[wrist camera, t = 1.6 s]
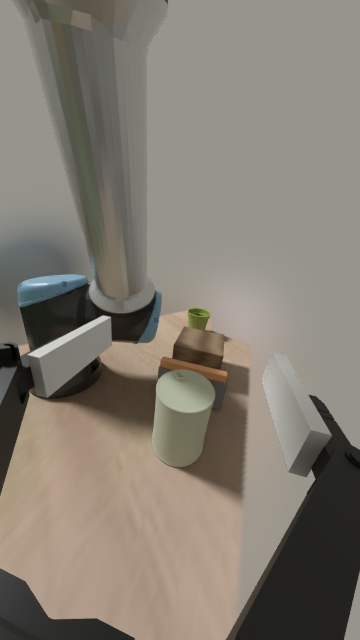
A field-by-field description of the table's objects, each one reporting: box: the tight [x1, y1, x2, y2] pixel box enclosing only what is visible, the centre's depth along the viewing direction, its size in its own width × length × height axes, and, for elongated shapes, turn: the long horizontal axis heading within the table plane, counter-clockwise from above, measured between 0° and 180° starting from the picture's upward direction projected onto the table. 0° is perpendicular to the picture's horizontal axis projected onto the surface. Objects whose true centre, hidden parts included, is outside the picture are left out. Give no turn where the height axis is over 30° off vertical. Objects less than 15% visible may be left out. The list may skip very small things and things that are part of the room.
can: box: [151, 370, 215, 467], centre depth 30 cm, size 9×9×12 cm
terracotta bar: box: [160, 357, 227, 383], centre depth 39 cm, size 14×2×2 cm, turn 77°
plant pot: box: [187, 308, 211, 331], centre depth 73 cm, size 9×9×9 cm
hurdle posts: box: [158, 366, 227, 410], centre depth 40 cm, size 14×2×7 cm, turn 77°
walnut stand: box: [172, 327, 224, 385], centre depth 51 cm, size 12×12×9 cm
